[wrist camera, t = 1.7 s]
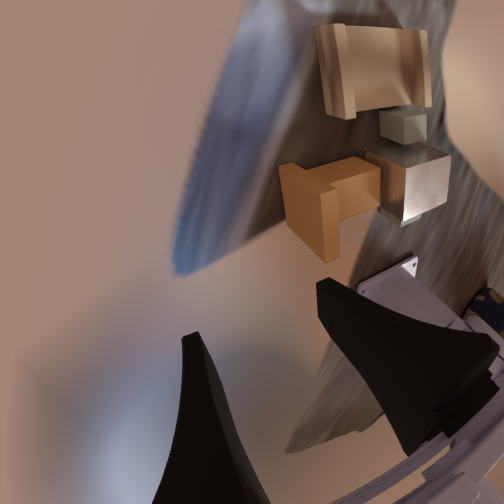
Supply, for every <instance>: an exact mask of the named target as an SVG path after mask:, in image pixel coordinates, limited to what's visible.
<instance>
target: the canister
mask: <svg viewBox="0 0 504 504" xmlns="http://www.w3.org/2000/svg"><path fill="white" fill-rule="evenodd" d="M476 315H477V316H479V317H480V318H481V319H482V320H483V321H484V322H486V323H487V324H488V325H489V326H490V327H491V328H492V329H493V330H494V331H495V332H496V333H497V334H498V335H500V336H501V337H502V338H503V339H504V298H503V297H502V296H501V295H499V294H498V293H497V292H496V291H495V290H493V289H492V288H485V289H483V290H482V291H481V292H480V293H479V294H478V295H477V296H476V297H475V298H474V300H473V301H472V303H471V304H470V305H469V307H468V309H467V310H466V312H465V314H464V316H463V320H464V321H466V320H467V318H468V317H469V316H476Z"/></svg>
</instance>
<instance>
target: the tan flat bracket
mask: <svg viewBox="0 0 504 504" xmlns="http://www.w3.org/2000/svg"><path fill="white" fill-rule="evenodd" d="M313 31H314V36H315V42H316V48H317V54H318V60H319V66H320V73H321V79H322V87H323V94H324V102H325V110H326V114H327V115H331V116H334V117H338V118H342V119H345V120H348V119H353V118H356V112H359V111H365V110H371V109H378V108H384V107H392V106H399V105H407V104H414V105H418V106H422V107H432V100H431V78H430V64H429V52H428V43H427V35H426V31H425V30H411V29H396V28H385V27H369V26H345V24H328V25H322V26H316V27H313Z"/></svg>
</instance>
